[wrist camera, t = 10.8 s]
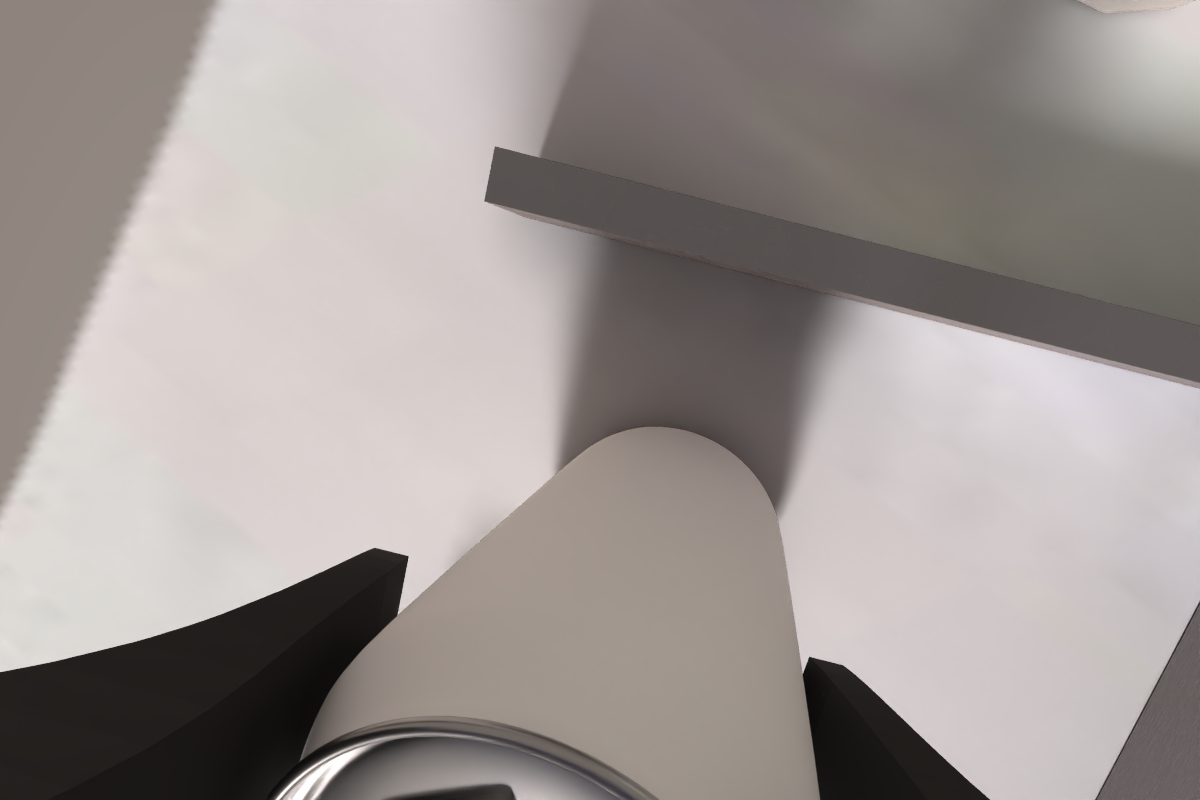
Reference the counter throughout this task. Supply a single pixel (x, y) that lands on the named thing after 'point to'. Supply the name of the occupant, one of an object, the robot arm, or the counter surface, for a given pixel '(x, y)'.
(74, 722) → the robot arm
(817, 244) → the rail channel
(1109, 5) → the white cup
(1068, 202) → the counter surface
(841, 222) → the counter surface
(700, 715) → the can
